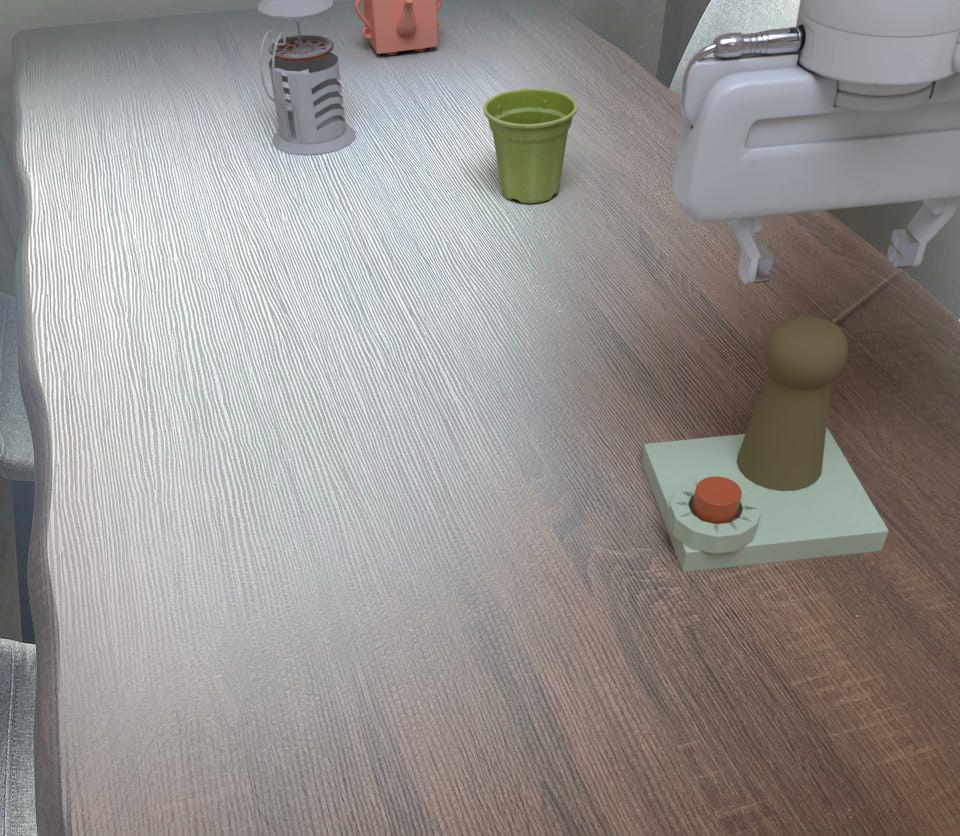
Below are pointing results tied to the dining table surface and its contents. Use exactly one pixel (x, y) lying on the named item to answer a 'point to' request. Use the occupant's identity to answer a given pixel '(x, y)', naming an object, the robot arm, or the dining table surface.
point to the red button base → (759, 508)
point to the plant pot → (530, 140)
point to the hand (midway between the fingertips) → (827, 271)
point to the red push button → (716, 500)
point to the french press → (305, 83)
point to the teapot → (400, 24)
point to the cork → (793, 404)
